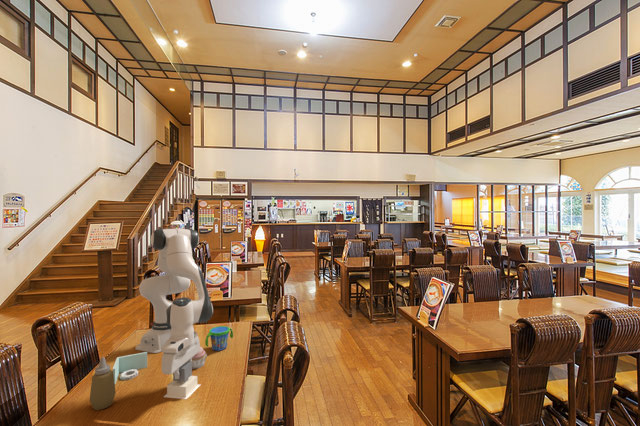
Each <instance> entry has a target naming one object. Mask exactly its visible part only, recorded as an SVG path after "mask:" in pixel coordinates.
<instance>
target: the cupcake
mask: <svg viewBox="0 0 640 426" xmlns="http://www.w3.org/2000/svg"><path fill="white" fill-rule="evenodd" d="M207 357H208V353H206V351H205V350H204V348H203V347H202V346H200V350H199V352H198V353H197V354H196V355H195V356H193V357H192V361H191V363H192V370H197V369H199V368H203V367H204V366H205V362H206V359H207Z"/></svg>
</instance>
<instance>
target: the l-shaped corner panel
mask: <svg viewBox="0 0 640 426" xmlns="http://www.w3.org/2000/svg"><path fill="white" fill-rule="evenodd" d="M146 368H148V352H145V351H143V352H138V353H134V354H128V355H123V356H118V357H116V359H115V362H114V364H113V367H112V371H113V376H114V383H115V385H116V384H117V380H118V377H119V378H120V380H121V381H129V380H132V379H134V378H136V377H138V376H139V370H141V369H146Z"/></svg>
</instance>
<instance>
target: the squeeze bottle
mask: <svg viewBox="0 0 640 426" xmlns="http://www.w3.org/2000/svg"><path fill="white" fill-rule="evenodd" d="M90 383H91V385H90V391H89V393H90V394H89V403H90V405H91V406H92V409H94V410H95V411H99V410H103V409H106V408H108V407H109V406H111V405H112V404H113V401H114V399H115V396H116V393H117V391H116V384H115V383H114V376H113V369H112V370H111V365H110V364H107V361H106V358H105V357H104V356H102V357H100V359H99V363H98V366H97V367H96V368H95V369H94V374H93V375H92V376H91V381H90Z"/></svg>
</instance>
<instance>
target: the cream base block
mask: <svg viewBox="0 0 640 426" xmlns="http://www.w3.org/2000/svg"><path fill="white" fill-rule="evenodd" d="M197 384H198V375H191V376H190V377H189V378H188V379H187V380H186V381H185V382H184V381H173V380H172V381H171V382H169V383H168V384H167V385H166V394H167V396H177V397H187V396H188V395H189V394H190V393H191V392H192V391H193V390H194V389H195V388H196V387H197Z"/></svg>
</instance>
